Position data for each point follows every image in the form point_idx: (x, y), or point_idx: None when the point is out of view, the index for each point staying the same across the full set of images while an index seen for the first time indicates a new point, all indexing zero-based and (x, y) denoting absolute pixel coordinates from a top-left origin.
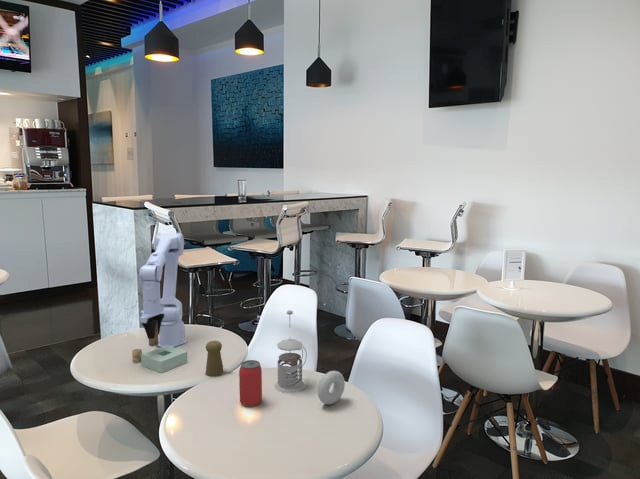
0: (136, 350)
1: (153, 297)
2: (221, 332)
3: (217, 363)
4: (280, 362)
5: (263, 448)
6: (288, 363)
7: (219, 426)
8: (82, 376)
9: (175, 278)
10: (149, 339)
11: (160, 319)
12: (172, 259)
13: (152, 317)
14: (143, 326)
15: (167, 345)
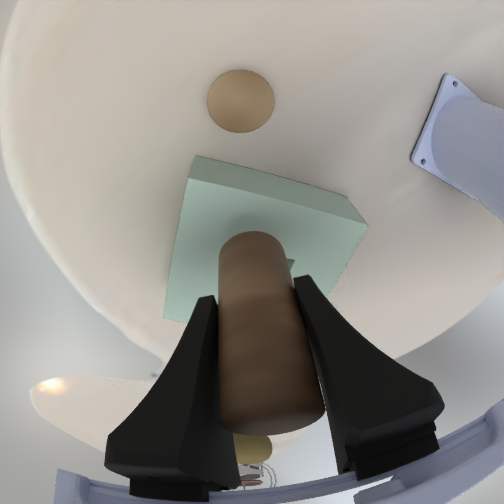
0: (240, 97)
1: None
2: None
3: None
4: (248, 468)
5: (100, 440)
6: (260, 464)
7: (93, 419)
8: (10, 26)
9: None
10: (219, 283)
11: (333, 442)
12: None
13: (342, 436)
14: (144, 398)
15: (362, 230)
